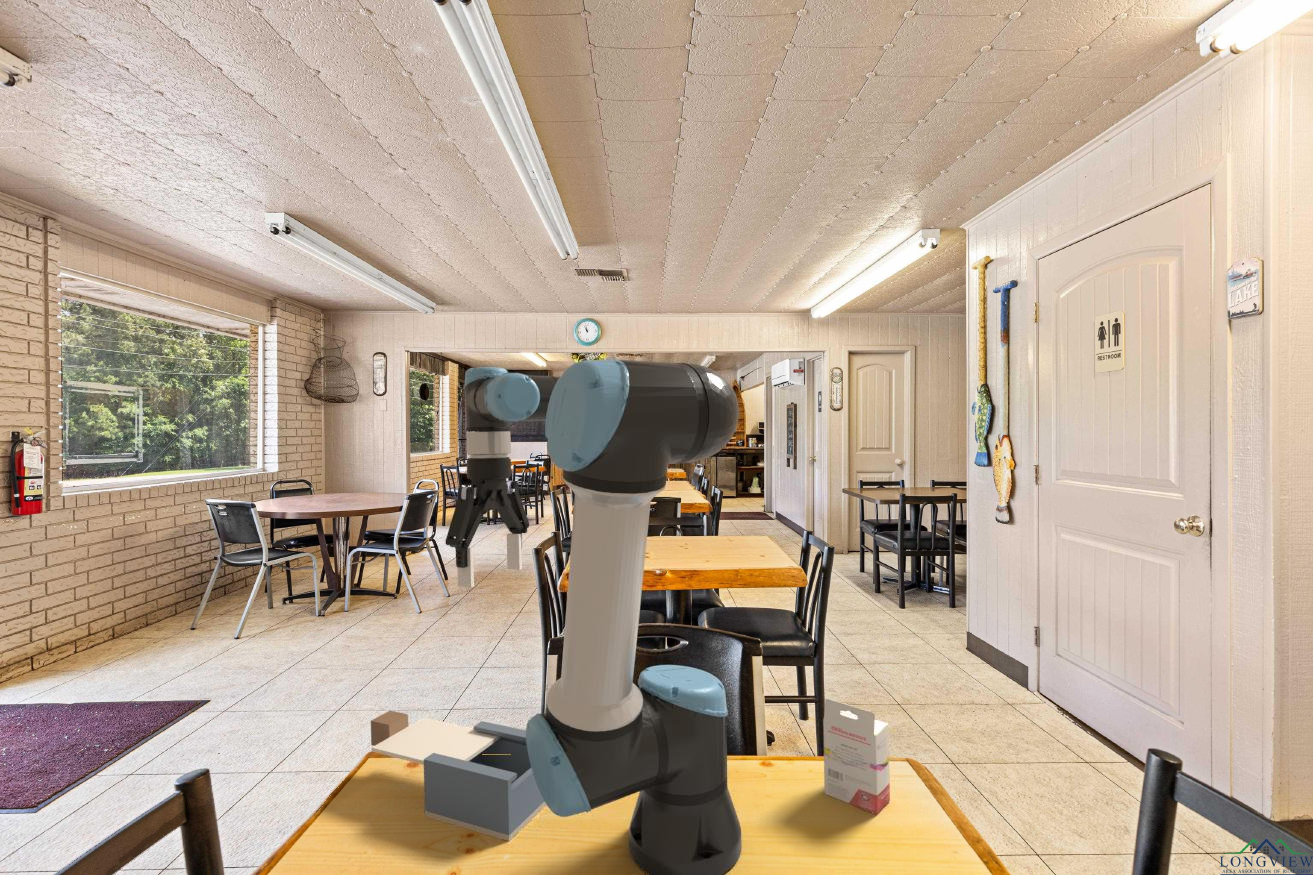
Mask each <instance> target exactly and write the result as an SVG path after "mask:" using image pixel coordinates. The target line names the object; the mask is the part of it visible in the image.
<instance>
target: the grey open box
mask: <svg viewBox="0 0 1313 875" xmlns="http://www.w3.org/2000/svg"><path fill="white" fill-rule="evenodd" d="M473 728H474V730H476V731H480V732H485V733H489V734H494V735H498V736H501V738H500V739H499V740H497V741H496V742H494V743H493V744H492V745H490V746H489V747H487V748H486V749H485V750H483V751H482V752H481V753H479V754H478V755H476V756H475V757H474V758H472V759H471V760H470V761H465V760H461V759H457V758H453V757H449V756H445V755H440V754H436V753H432V754H431V755H429V756H428V757H426V758H425V759H424V765H423V783H424V784H423V787H424V788H423V789H424V790H423V791H424V792H423V793H424V795H423V796H424V817H426V818H430V819H434V820H437V821H439V822H444V823H447V824H450V825H453V826H457V827H459V828H464V829H467V830H470V831H474V832H477V833H480V834H483V835H486V836H491V837H494V838H497V839H500V840H503V841H507V842H510V841H511V840H512V839H513V838H514V837H516V836H517V835H518V834H519V832H520V831H521V830H522V829H524V828H525V827H526V826H527V825H528V823H530V822H531V821H532V819H534V817H536V816H537V814H539V813H540V812H541V811H542V810H543V809H544V808H545V807H547V805H546V803H545V802H544V800H543V798H542V796H541V794H540V791H539V789H538V786H537V784H536V781H535V778H534V775H533V772H532V768H531V764H530V760H529V756H528V750H527V743H526V729H521V728H516V727H512V726H506V725H501V724H497V723H493V722H488V721H483V720H482V721H480V722H478V723H477V724H475V725H474V726H473ZM482 754H511V755H482Z"/></svg>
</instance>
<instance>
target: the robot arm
mask: <svg viewBox="0 0 1313 875" xmlns="http://www.w3.org/2000/svg"><path fill="white" fill-rule="evenodd" d="M463 391H464V404H465V432H466V454H467V455H468V456H470V458H469V457H468V458H467V460H466V477H467V479H468V480H471V485H470V486H459V487H458V490H457V499H456V500H457V501H456V503H455V504H456V505H455V507H454V512H453V514H452V517H451V521H450V524H449V528H448V531H447V534H446V538H445V541H444V542H445V543H444V544H445V545H446V546H449V547H450V548H455V565H456V568H457V587H463V588H474V587H475V570H474V569H475V568H474V562H475V560H474V547H473V546H470V545H471V543H472V541H473V539H474V537H475V535H476V533H477V530H478V528H479V527H480V526H479V525H480V523H481V522H482V519H483V517H484V515H486V514H487V513H488V512H489V511H492V510H496V511H497V513H498V515H499V516H500V517H501V519H502V521H503V523H504V524H505V526H506V528H507V529H508V531H509V533H506V563H507V564H506V565H507V568H506V569H507V570H517V571H518V570H519V571H521V570H523V559H522V556H523V554H522V549H523V534H527V533H528V529H529V528H530V521H529V519H528V515H527V513H526V509H525V507H524V504H523V501H522V498H521V495H520V494H521V493H520V491H519V481H518V480H507V479H510V477H512V459H511V458H510V457H509V456H508V454H511V453H512V445H511V444H512V440H511V423H512V422H516V423H517V422H541V421H542V422H545V429H544V430H545V431H544V432H545V438H546V439H547V442H546V450H547V453H548V456H549V458H550V460H551V462H552V464H554V465H555V467H557V468H559V469H561V470H562V476H561V477H562V481H563V482H564V483H565V485H566V486H568V488H569V489H570V490H571V491H572V492H573V493H574V501H573V512H572V513H573V516H572V528H571V541H570V542H571V543H570V554H569V568H568V569H569V570H568V581H567V594H566V595H567V596H566V610H565V619H564V620H565V623H564V635H563V649H562V659H561V660H562V662H561V672H560V673H561V674H560V678H558V679H557V680H556V681H554V683H552V684H551V686H550V687H549V688H548V691H547V696H546V704H545V705H546V706H545V712H544V713H538V712H537V713H536V714H535V715H534V716H531V717H530V718H529V719H528V721H527V723H526V726H525V727H526V728H525V730H526V743H527V750H528V756H529V760H530V764H531V768H532V772H533V775H534V778H535V781H536V784H537V786H538V789H539V791H540V794H541V796H542V798H543V800H544V802H545V803H546V807H548V809H549V810H550V812H552V813H553V814H555V815H556V816H558V817H561V818H562V817H563V818H567V817H571V816H574V815H579V814H583V813H589V812H591V811H592V810H594V809H596V808H599V807H602V806H605V805H608V804H610V803H612V802H616V801H619V800H621V799H623V798H626V797H629V796H631V795H633V794H636V793H639V794H638V795H637V799H636V802H635V806H634V810H633V813H632V816H631V819H630V822H629V823H630V824H629V826H628V827H629V828H628V849H629V853H630V856H631V859H632V860H633V862H635V864H636V865H637V866H638V867H639V868H640V869H641V870H643V871H644V872H645V873H647V874H648V875H723V874H726V873H727V872H729V870H730V869H732V868H733V867H734V866H735V865H736V863H737V862H738V861H739V858H741V857H740V856H741V855H742V854H741V853H742V846H743V845H742V841H743V840H742V827H741V823H740V820H739V817H738V815H737V811H736V808H735V805H734V802H733V800H732V797H731V795H730V794H731V793H730V792H729V788H728V786H729V785H728V746H727V744H728V743H727V742H728V740H727V735H728V734H727V732H728V731H727V728H728V727H727V724H728V723H727V721H728V720H727V719H728V715H729V714H728V712H729V711H728V708H727V698H726V689H725V687H724V684H723V682H721V680H720V679H719V678H718V677H716V676H715V675H713V674H712V673H710V672H708V671H705V670H702V669H700V668H699V669H698V668H695V667H691V666H685V665H680V664H679V665H677V664H659V665H653V666H650V667H646V668H645V669H643V670H642V671H641V672H640V674H639V678H637V685H638V686H639V687H638V686H637V685H636V684H635V683H634V682H633V681H634V671H635V664H636V663H635V662H636V650H637V644H638V643H637V641H638V631H639V622H640V621H639V620H640V610H641V604H642V603H641V602H642V591H643V582H644V572H645V571H644V570H645V561H646V552H647V541H648V530H649V524H650V522H649V520H650V513H651V512H650V511H651V502H652V500H653V499H654V497H656V496H657V495H659V494H660V493H661V492H662V491H664V490H665V488H666V485H667V480H668V478H667V477H668V476H667V475H668V469H669V465H675V464H685V463H695V462H698V461H703V460H705V459H708V458H710V457H712V456H714V455H716V454H717V453H719V452H720V451H721V450H722V449H724V447H726V445H728V443H729V442H730V440H732V438H733V436H734V434H735V432H736V430H737V427H738V424H739V423H738V422H739V418H740V416H739V415H740V407H739V406H740V405H739V401H738V398H737V395H736V392H735V390H734V388H733V386H732V385H731V384H730V383H729V381H728V380H727V378H724V376H723V375H722V374H720V373H719V372H717V371H716V370H714V369H712V368H709V367H707V366H705V365H701V364H696V363H688V362H661V361H646V360H632V359H631V360H630V359H628V360H627V359H617V358H606V359H605V358H604V359H586V360H585V359H584V360H580V361H577V362H575V363H572V365H570V366H568V367H567V368H566V369H565V370H564V371H563V373H562V374H561V375H560V376H551V375H531V374H529V375H527V374H523V373H519V372H509V371H508V370H507V369H506V368H504V367H500V366H499V367H497V366H496V367H495V366H477V367H470V368H468V369H467V370H466V371H465V374H464V386H463Z"/></svg>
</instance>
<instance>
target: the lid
mask: <svg viewBox="0 0 1313 875" xmlns="http://www.w3.org/2000/svg"><path fill="white" fill-rule="evenodd" d="M500 738H501V736H498V735H494V734H489V733H485V732H480V731H476V730H474V727H470V726H464V725H460V724H456V723H451V722H447V721H442V720H438V719H433V718H427V717H422V718H421V719H419V720H417V721H415V722H413V723H412V724H410V725H409V714H407V713H403V712H399V711H393V710H388V711H386V712H384V713H382V714H380V715H378V716H377V717H375V718H373V719H371V720H370V742H371V743H370V744H371V746H372V747H371V752H372V753H373V752H374V753H377V754H380V755H384V756H388V757H392V758H396V759H400V760H404V761H407V762H410V763H411V762H413V763H414V764H415V763H416V764H420V765H423V766H424V759H425V758H426V757H428V756H429V755H431V754H432V753H436V754H440V755H445V756H449V757H453V758H457V759H461V760H465V761H470V760H471V759H472V758H474V757H475V756H476V755H478V754H479V753H481V752H482V751H483V750H485V749H486V748H487V747H489V746H490V745H492V744H493V743H494V742H496V741H497V740H499V739H500Z"/></svg>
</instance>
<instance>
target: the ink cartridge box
mask: <svg viewBox="0 0 1313 875" xmlns="http://www.w3.org/2000/svg"><path fill="white" fill-rule="evenodd" d="M823 714H824V716H823V720H822V722H823V723H822V724H823V725H822V726H823V764H824V766H823V771H824V772H823V773H824V774H823V776H824V777H823V778H824V780H823V782H824V786H823V787H824V793H825V795H828V796H830V797H833V798H835V799H837V800H840V801H843V802H845V803H847V804H850V805H851V806H854V807H856V808H857V807H858V808H859V809H861V810H864V811H867V812H870V813H872V814H874V815H878V814H879V813H880V812H881V811H882V810H883V809H884V808H885V807H886V805H888V803H889V802H890V801H891V790H890V788H891V784H890V774H891V773H890V746H889V744H890V742H889V741H890V738H889V737H890V736H889V723H888V722H884V721H881V720H878V719H877V720H876V715H875V713H874V712H873V711H870V710H866V709H863V708H860V707H857V706H854V705H851V704H847V703H844V702H840V701H838V700H834V699H830V698H828V697H827V698H825V699H824V713H823Z"/></svg>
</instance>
